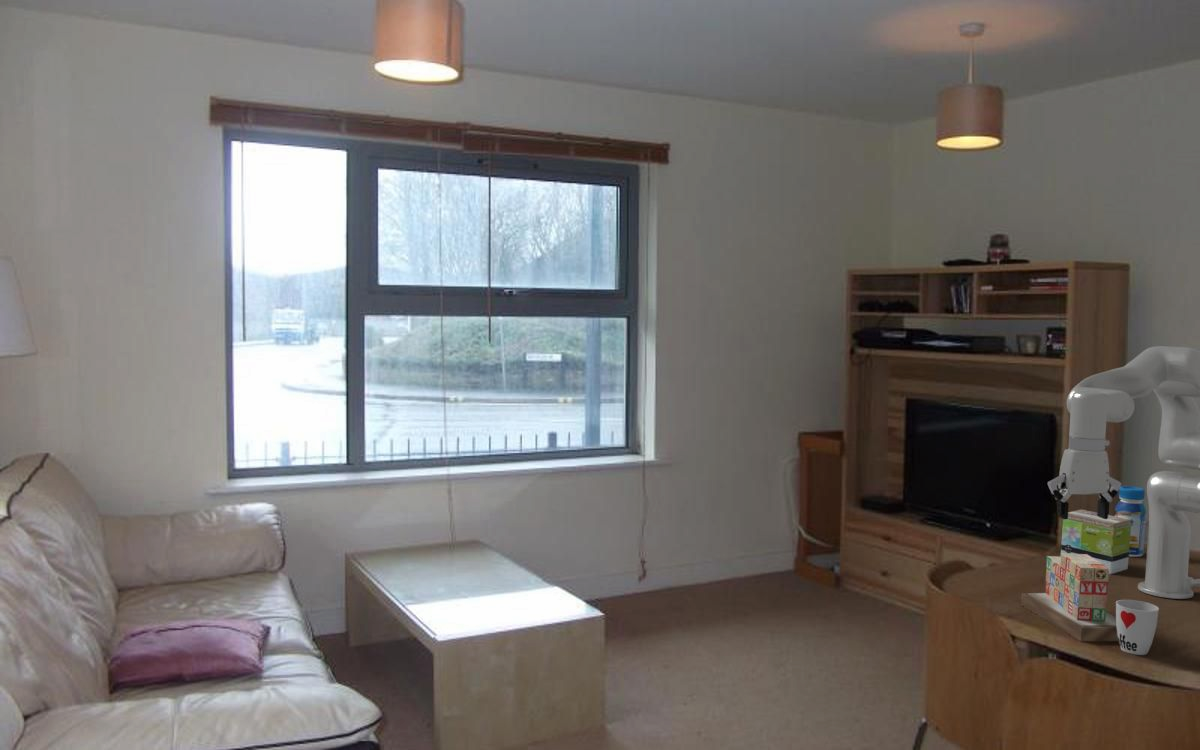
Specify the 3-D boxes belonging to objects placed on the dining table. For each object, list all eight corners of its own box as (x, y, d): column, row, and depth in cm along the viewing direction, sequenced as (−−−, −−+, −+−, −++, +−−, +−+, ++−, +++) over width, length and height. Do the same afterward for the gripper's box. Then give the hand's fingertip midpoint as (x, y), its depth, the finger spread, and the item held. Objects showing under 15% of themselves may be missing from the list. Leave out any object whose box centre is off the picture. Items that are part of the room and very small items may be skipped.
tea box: (1059, 562, 289) (1061, 512, 287) (1077, 558, 295) (1080, 508, 293) (1111, 575, 277) (1114, 522, 275) (1129, 569, 283) (1132, 518, 281)
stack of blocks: (1044, 592, 246) (1047, 543, 245) (1070, 594, 246) (1073, 544, 245) (1077, 620, 225) (1080, 566, 224) (1106, 621, 224) (1109, 567, 223)
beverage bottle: (1150, 557, 297) (1154, 490, 296) (1126, 558, 295) (1130, 491, 294) (1129, 549, 306) (1133, 485, 304) (1105, 550, 304) (1109, 485, 302)
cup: (1105, 644, 219) (1108, 599, 218) (1140, 644, 220) (1143, 599, 219) (1127, 657, 211) (1130, 611, 210) (1164, 657, 212) (1167, 611, 211)
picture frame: (1071, 604, 248) (1072, 591, 247) (1136, 640, 222) (1137, 626, 222) (1020, 605, 246) (1021, 592, 246) (1080, 641, 221) (1081, 626, 220)
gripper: (1112, 442, 235) (1108, 514, 237) (1042, 442, 234) (1038, 514, 235) (1132, 447, 228) (1127, 521, 229) (1059, 447, 226) (1055, 521, 228)
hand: (1082, 517), depth 232 cm, fingers open, 9 cm apart
